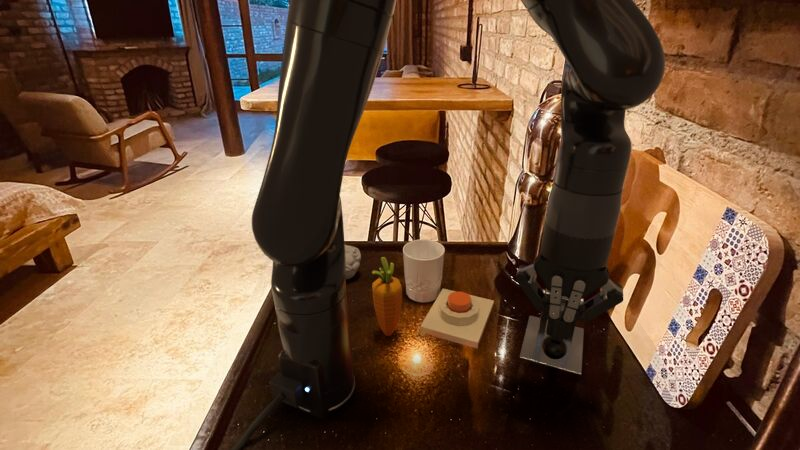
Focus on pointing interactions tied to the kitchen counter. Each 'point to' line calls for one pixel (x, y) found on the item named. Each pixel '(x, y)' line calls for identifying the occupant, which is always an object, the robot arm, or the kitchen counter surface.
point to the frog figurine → (352, 260)
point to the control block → (457, 320)
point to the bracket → (538, 334)
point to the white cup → (423, 269)
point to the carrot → (387, 298)
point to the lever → (552, 347)
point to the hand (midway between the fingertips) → (556, 337)
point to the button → (459, 302)
